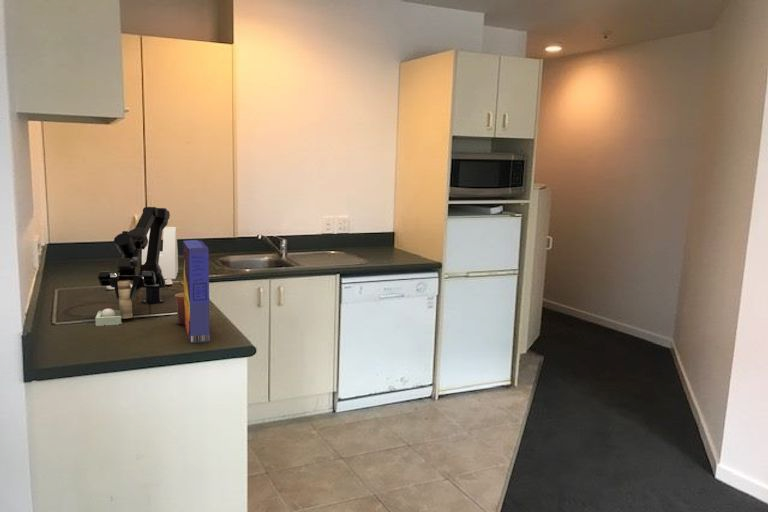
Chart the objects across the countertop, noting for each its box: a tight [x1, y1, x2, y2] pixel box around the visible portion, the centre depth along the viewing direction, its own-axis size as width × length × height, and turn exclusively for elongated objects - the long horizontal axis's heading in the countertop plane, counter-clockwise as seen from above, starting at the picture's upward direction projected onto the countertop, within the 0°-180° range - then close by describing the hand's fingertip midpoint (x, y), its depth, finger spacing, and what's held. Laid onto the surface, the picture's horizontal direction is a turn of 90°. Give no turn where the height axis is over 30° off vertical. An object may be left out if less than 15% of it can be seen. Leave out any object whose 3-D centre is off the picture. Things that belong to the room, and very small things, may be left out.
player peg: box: [118, 280, 134, 319], centre depth 215 cm, size 4×4×13 cm
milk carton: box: [141, 226, 179, 280], centre depth 308 cm, size 19×15×25 cm
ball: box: [101, 308, 115, 317], centre depth 214 cm, size 5×5×5 cm
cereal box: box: [182, 239, 211, 344], centre depth 199 cm, size 22×6×30 cm, turn 22°
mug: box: [174, 292, 185, 326], centre depth 215 cm, size 12×9×10 cm
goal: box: [95, 309, 122, 327], centre depth 214 cm, size 11×8×3 cm
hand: (124, 298), depth 213 cm, fingers closed on player peg, 4 cm apart
